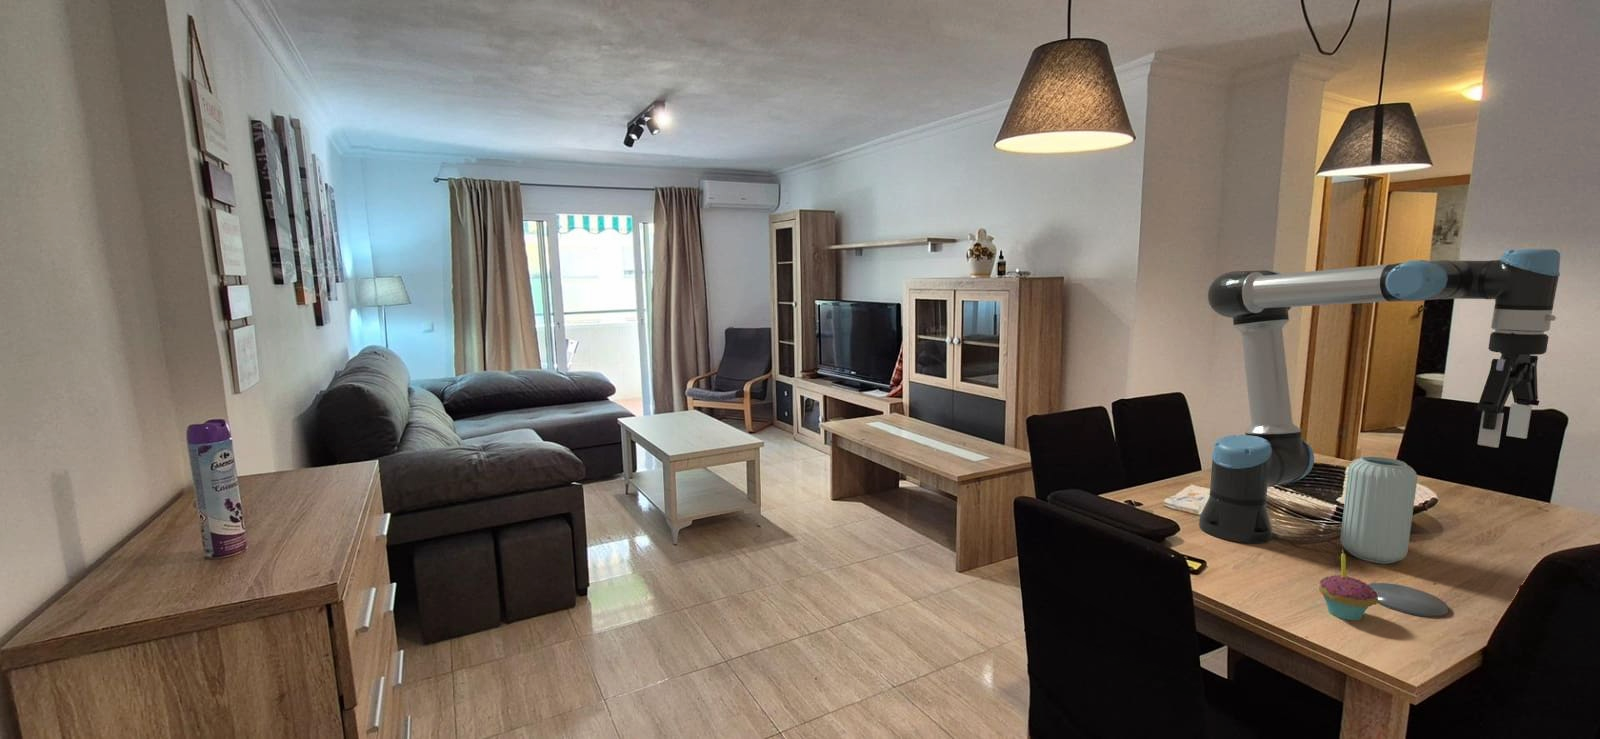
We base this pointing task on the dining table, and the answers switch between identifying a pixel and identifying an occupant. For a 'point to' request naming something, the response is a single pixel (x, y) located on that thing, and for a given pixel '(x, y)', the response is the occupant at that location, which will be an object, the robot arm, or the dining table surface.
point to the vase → (1378, 509)
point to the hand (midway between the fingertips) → (1502, 441)
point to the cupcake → (1347, 594)
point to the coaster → (1409, 600)
